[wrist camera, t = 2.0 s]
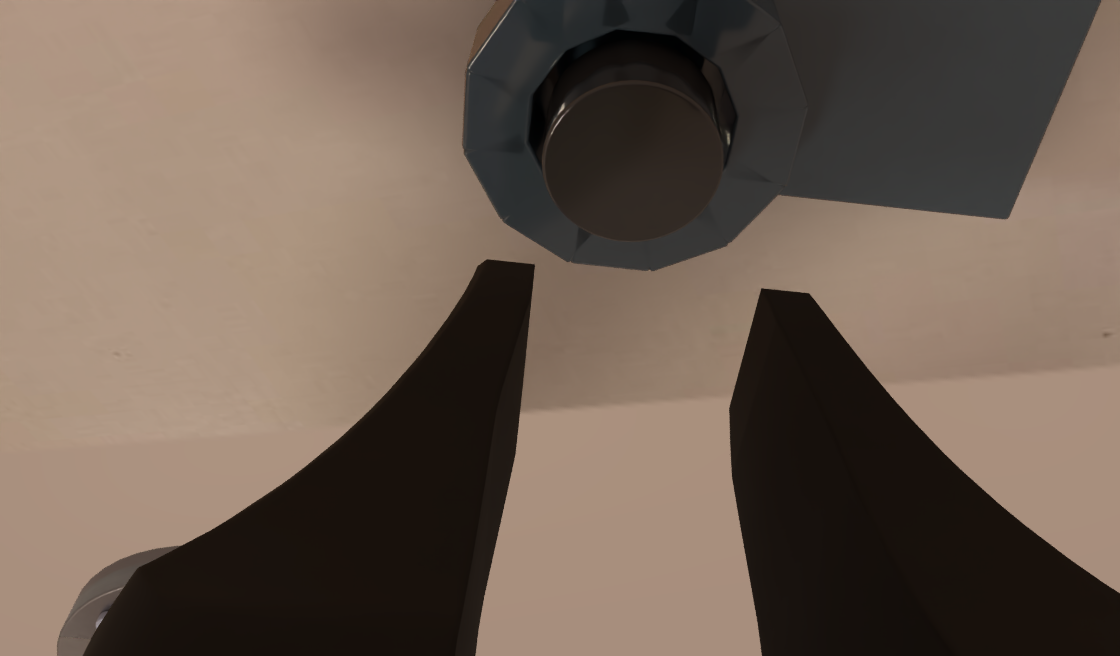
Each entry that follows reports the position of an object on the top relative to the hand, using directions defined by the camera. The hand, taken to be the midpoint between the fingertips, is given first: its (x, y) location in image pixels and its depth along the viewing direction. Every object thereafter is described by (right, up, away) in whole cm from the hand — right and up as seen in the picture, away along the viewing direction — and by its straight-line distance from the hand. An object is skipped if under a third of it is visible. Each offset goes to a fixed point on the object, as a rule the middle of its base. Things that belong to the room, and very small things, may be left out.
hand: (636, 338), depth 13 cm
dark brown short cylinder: (0, +4, +5) cm, 6 cm away
